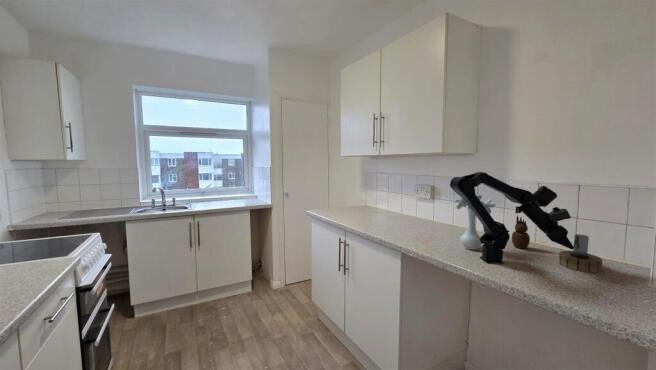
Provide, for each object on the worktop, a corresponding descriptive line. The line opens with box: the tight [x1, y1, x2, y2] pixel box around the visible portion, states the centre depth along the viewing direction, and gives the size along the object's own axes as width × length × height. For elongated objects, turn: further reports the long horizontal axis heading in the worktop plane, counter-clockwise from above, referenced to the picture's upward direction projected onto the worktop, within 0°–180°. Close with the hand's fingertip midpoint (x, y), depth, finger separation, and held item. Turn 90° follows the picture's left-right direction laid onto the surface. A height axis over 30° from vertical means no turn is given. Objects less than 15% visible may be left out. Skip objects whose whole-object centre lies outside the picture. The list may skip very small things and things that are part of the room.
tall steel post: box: [572, 233, 590, 259], centre depth 107 cm, size 4×4×12 cm
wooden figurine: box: [511, 214, 531, 250], centre depth 129 cm, size 7×6×15 cm
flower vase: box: [454, 195, 496, 251], centre depth 130 cm, size 13×18×25 cm
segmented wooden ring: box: [558, 250, 603, 274], centre depth 107 cm, size 12×12×4 cm
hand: (569, 245), depth 108 cm, fingers open, 9 cm apart
